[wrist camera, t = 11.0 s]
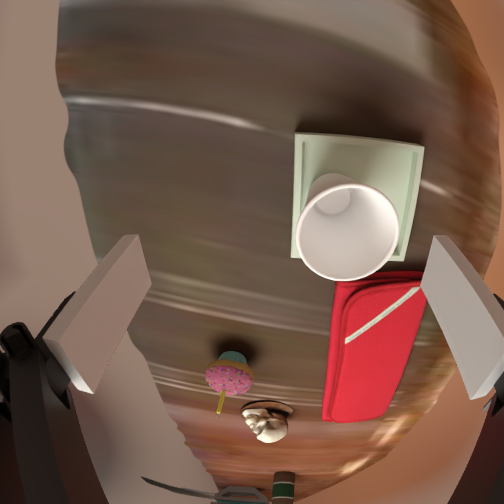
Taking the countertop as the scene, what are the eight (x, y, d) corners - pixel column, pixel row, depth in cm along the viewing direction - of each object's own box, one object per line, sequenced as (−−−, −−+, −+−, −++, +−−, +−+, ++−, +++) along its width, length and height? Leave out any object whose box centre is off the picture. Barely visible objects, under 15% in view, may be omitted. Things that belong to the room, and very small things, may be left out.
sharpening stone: (270, 487, 98) (268, 508, 88) (272, 491, 101) (270, 511, 92) (214, 484, 102) (210, 504, 92) (218, 488, 106) (215, 507, 96)
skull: (231, 421, 64) (236, 438, 54) (247, 384, 66) (255, 397, 56) (275, 434, 65) (286, 451, 55) (292, 399, 67) (306, 412, 57)
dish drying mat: (320, 415, 62) (320, 428, 59) (331, 272, 42) (335, 287, 39) (383, 408, 60) (385, 421, 57) (429, 265, 40) (438, 279, 37)
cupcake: (242, 377, 56) (234, 429, 45) (203, 361, 54) (188, 413, 44) (264, 355, 52) (259, 411, 41) (221, 336, 50) (207, 392, 40)
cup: (383, 175, 34) (417, 208, 24) (350, 242, 38) (369, 292, 29) (309, 144, 33) (320, 165, 23) (280, 217, 38) (279, 263, 28)
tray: (294, 131, 33) (295, 134, 31) (417, 143, 31) (424, 147, 30) (290, 249, 41) (291, 257, 39) (398, 253, 39) (403, 261, 37)
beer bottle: (280, 469, 83) (275, 529, 62) (299, 472, 84) (296, 530, 64) (269, 474, 87) (264, 530, 66) (287, 477, 88) (284, 531, 67)
